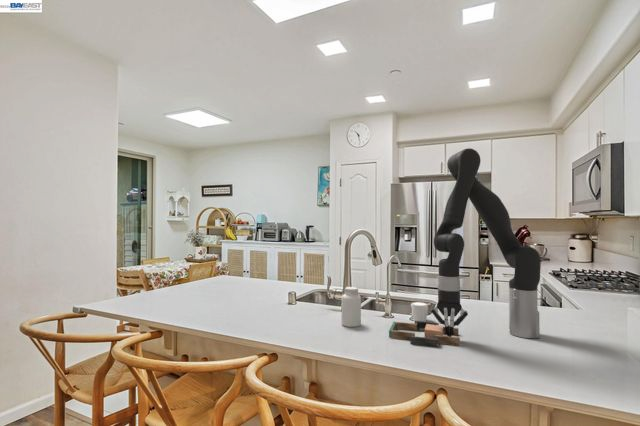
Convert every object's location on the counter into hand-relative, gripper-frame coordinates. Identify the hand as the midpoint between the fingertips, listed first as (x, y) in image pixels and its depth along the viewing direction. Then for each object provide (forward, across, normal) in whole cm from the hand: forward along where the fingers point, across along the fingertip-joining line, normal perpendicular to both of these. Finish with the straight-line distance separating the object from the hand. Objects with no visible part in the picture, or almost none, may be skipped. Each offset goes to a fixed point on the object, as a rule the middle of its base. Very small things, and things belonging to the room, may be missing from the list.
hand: (449, 336), depth 124 cm
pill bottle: (+1, +38, -5) cm, 38 cm away
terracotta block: (+1, +5, 0) cm, 5 cm away
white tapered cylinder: (+1, +12, -21) cm, 24 cm away
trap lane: (+1, +9, 0) cm, 9 cm away
